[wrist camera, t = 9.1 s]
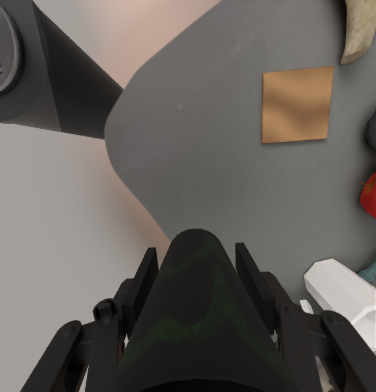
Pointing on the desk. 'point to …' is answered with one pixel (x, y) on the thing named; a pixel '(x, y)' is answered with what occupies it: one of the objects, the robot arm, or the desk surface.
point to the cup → (200, 329)
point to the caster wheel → (371, 131)
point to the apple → (369, 196)
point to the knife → (368, 273)
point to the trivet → (296, 104)
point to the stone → (359, 28)
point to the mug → (343, 296)
